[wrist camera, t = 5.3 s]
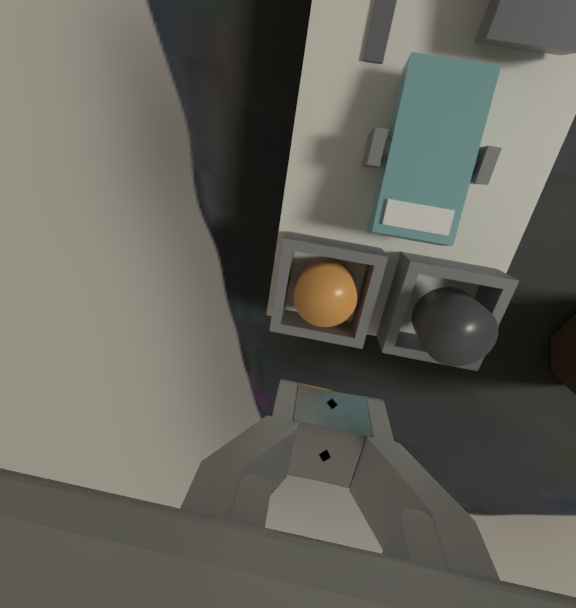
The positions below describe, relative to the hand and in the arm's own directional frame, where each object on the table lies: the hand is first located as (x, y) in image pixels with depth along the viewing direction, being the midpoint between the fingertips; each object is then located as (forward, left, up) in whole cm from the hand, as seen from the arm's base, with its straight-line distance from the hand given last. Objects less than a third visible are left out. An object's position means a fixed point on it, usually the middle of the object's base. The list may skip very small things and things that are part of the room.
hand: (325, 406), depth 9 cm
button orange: (0, 0, -12) cm, 12 cm away
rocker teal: (-8, +3, -10) cm, 13 cm away
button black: (0, +7, -10) cm, 12 cm away
